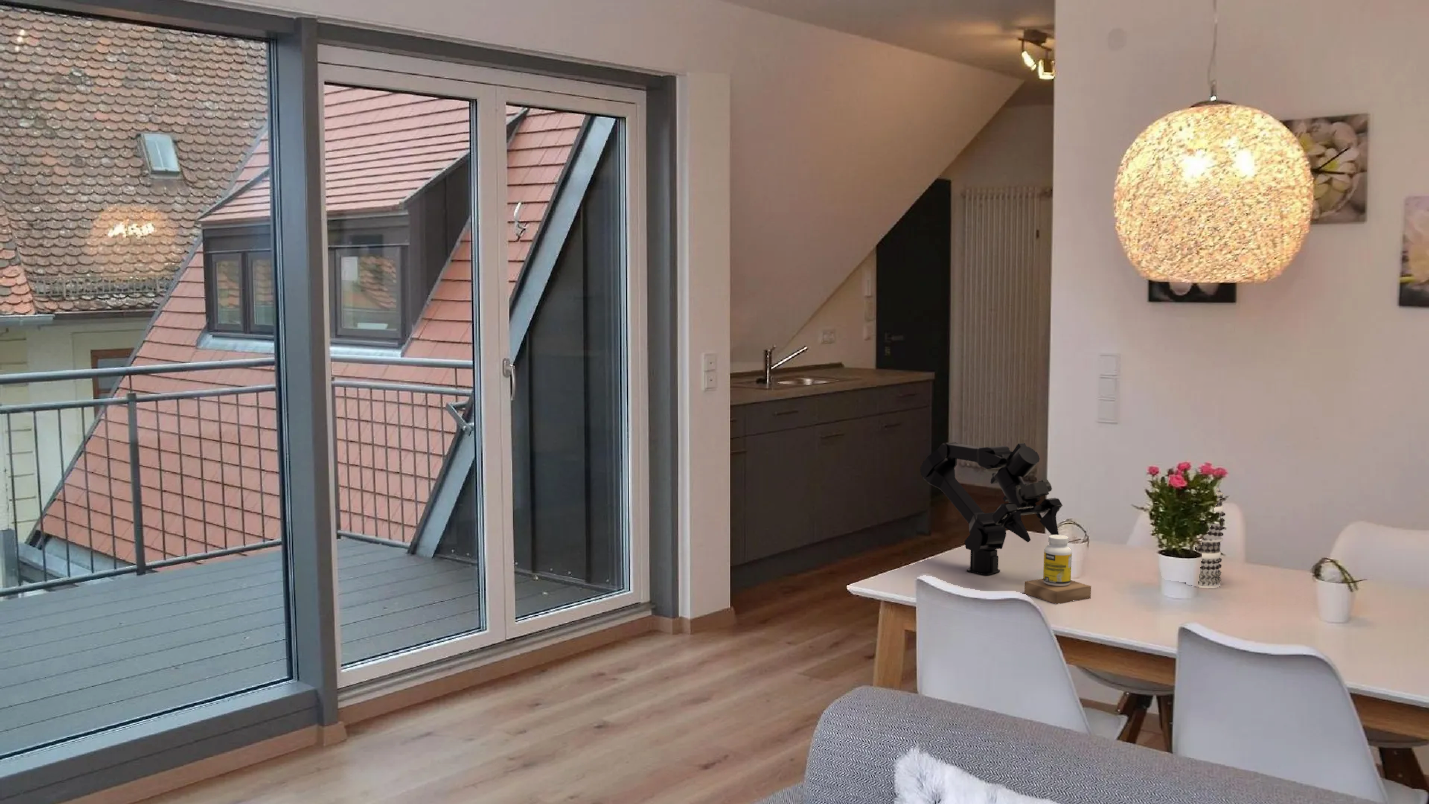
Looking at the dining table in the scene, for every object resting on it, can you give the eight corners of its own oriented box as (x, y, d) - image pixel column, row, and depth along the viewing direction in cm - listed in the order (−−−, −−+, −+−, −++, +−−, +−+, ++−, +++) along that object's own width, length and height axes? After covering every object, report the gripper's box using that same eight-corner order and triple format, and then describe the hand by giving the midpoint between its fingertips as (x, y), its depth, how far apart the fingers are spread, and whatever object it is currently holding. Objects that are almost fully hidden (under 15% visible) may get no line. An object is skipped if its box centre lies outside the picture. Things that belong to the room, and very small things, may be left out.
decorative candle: (1192, 589, 299) (1196, 489, 297) (1176, 579, 308) (1181, 483, 306) (1228, 588, 299) (1233, 489, 297) (1212, 579, 309) (1216, 483, 306)
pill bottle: (1037, 583, 293) (1039, 536, 291) (1052, 579, 297) (1054, 532, 296) (1061, 588, 288) (1062, 540, 286) (1076, 584, 292) (1077, 537, 291)
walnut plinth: (1024, 593, 295) (1024, 581, 294) (1057, 588, 300) (1058, 576, 300) (1056, 604, 285) (1057, 591, 285) (1090, 598, 290) (1091, 586, 290)
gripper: (1001, 471, 294) (1031, 524, 286) (1058, 466, 303) (1089, 517, 294) (979, 498, 302) (1008, 550, 293) (1035, 491, 311) (1064, 542, 302)
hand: (1043, 539), depth 296 cm, fingers open, 9 cm apart
